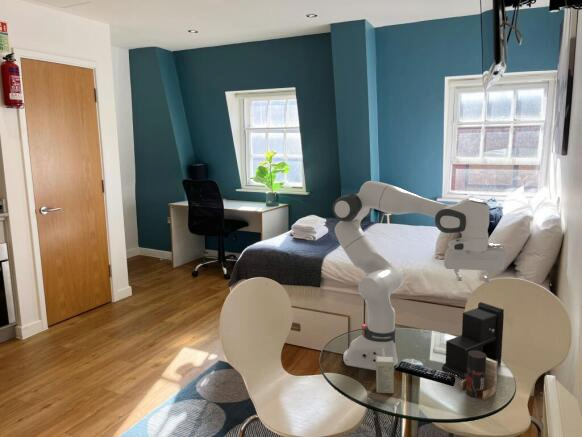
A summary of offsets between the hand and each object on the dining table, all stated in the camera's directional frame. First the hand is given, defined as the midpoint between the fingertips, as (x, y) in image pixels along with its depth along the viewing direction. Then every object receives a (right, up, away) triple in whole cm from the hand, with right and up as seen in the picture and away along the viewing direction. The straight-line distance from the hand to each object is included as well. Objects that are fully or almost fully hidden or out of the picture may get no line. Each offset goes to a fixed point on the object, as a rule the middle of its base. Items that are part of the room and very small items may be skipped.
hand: (472, 281), depth 160 cm
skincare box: (-32, -40, +1) cm, 51 cm away
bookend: (+7, -37, +17) cm, 41 cm away
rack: (+2, -40, -1) cm, 40 cm away
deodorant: (0, -40, -2) cm, 40 cm away
